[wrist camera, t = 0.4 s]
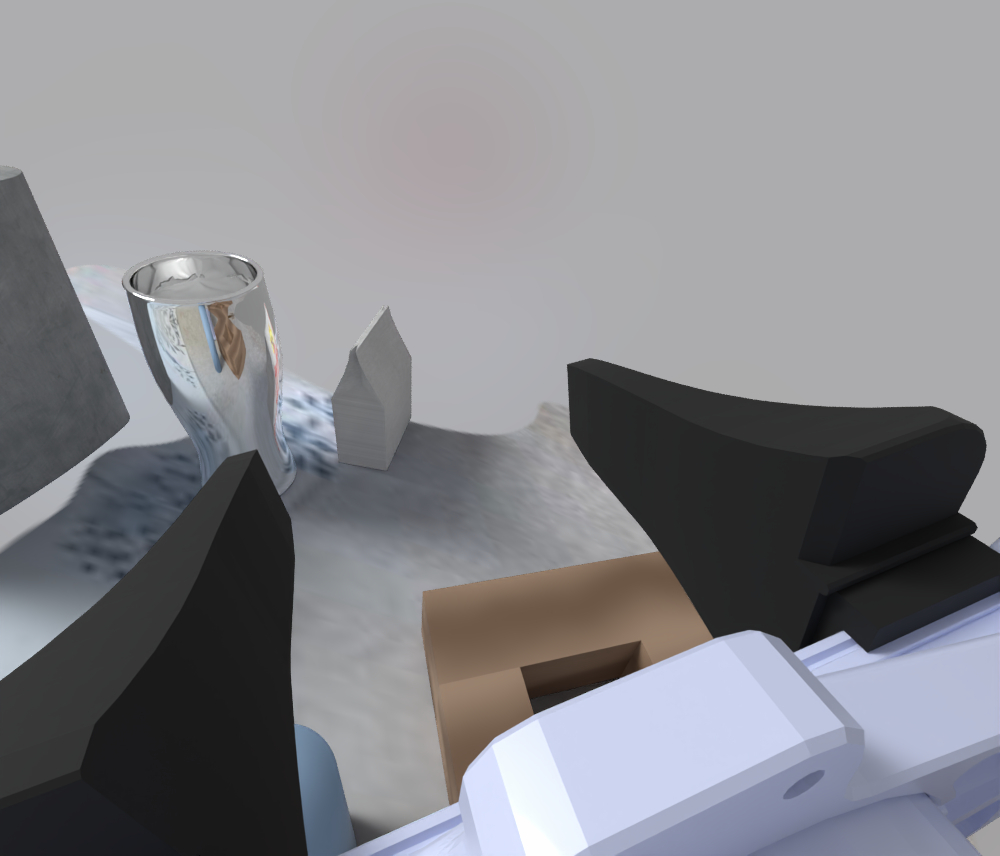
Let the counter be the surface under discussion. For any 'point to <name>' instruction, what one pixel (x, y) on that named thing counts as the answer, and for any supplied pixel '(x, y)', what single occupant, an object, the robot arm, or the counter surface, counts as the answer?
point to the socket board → (544, 643)
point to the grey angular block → (373, 396)
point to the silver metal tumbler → (214, 354)
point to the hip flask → (44, 357)
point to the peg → (322, 797)
